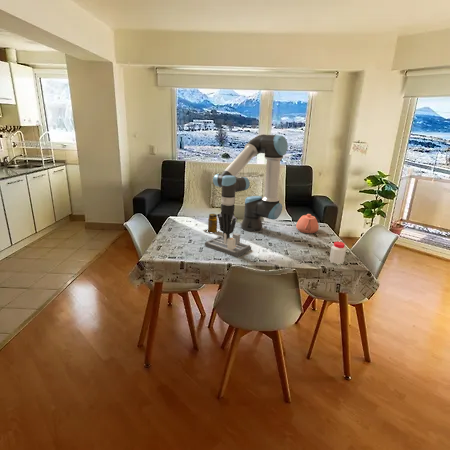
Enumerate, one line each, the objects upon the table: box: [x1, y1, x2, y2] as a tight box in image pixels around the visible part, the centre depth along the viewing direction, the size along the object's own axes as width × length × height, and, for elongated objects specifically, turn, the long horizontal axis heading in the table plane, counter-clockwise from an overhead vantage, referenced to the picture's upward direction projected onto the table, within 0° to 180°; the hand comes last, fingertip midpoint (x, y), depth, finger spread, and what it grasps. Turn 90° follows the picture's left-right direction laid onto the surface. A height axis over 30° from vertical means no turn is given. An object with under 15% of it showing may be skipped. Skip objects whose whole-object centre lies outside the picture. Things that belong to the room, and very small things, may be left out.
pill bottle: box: [328, 241, 347, 263], centre depth 163 cm, size 8×8×11 cm
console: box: [204, 232, 252, 258], centre depth 176 cm, size 24×14×8 cm, turn 52°
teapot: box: [295, 213, 320, 234], centre depth 211 cm, size 22×16×12 cm
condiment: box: [203, 213, 220, 234], centre depth 202 cm, size 7×8×12 cm
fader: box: [227, 236, 236, 250], centre depth 170 cm, size 4×3×6 cm
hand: (226, 243), depth 172 cm, fingers closed
